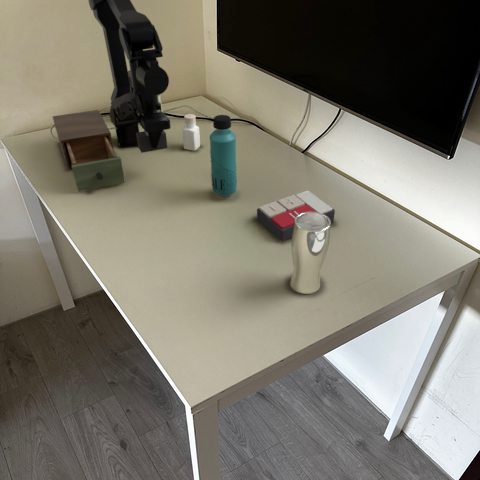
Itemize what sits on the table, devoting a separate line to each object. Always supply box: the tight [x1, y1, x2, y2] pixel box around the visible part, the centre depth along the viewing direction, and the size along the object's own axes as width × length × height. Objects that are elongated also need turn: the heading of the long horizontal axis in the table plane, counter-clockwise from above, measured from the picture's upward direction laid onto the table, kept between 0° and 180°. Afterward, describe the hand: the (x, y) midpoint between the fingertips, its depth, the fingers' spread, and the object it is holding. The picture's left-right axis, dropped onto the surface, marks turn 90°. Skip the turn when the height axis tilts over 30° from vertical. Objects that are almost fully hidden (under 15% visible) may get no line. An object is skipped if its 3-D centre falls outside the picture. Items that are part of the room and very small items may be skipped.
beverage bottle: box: [209, 114, 237, 197], centre depth 115 cm, size 6×7×20 cm
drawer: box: [66, 136, 126, 192], centre depth 127 cm, size 19×12×7 cm, turn 23°
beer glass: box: [289, 212, 332, 295], centre depth 91 cm, size 7×7×15 cm
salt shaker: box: [181, 113, 201, 152], centre depth 139 cm, size 4×4×10 cm
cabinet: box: [52, 109, 115, 170], centre depth 138 cm, size 18×13×8 cm
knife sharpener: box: [136, 129, 168, 154], centre depth 122 cm, size 7×3×5 cm, turn 113°
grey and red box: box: [256, 190, 336, 242], centre depth 112 cm, size 11×4×15 cm
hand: (152, 145), depth 123 cm, fingers closed on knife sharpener, 3 cm apart
